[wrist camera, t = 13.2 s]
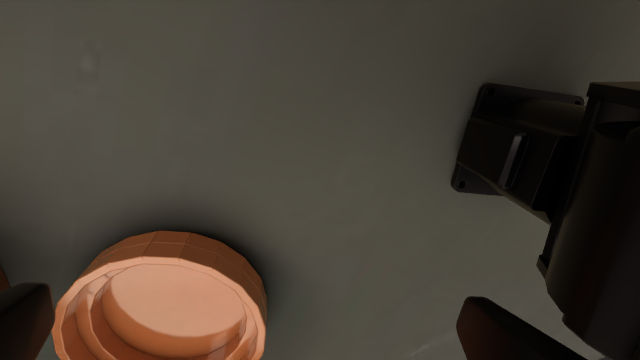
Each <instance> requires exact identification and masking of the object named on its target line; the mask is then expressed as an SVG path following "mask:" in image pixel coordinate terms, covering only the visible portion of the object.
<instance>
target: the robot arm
mask: <svg viewBox="0 0 640 360" xmlns="http://www.w3.org/2000/svg"><path fill="white" fill-rule="evenodd" d="M489 89H491V94H490V95H489V96H487V91H488V90H489ZM586 96H588V97H589V99H588V102H587V106H584V99H583V98H582V97H580V96H573V95H566V94H560V93H553V92H546V91H540V90H533V89H526V88H520V87H513V86H506V85H500V84H493V83H486V84H484V85H483V86H482V87H481V88H480V90H479V92H478V95H477V99H476V102H475V105H474V108H473V112H472V115H471V118H470V120H469V121H468V123H467V127H466V130H465V133H464V137H463V140H462V143H461V147H460V150H459V153H458V157H457V164H456V168H455V171H454V174H453V178H452V181H451V186H452V188H453V189H455V190H456V191H458V192H464V193H475V194H486V195H498V196H505V197H507V198H508V199H510V200H511V201H513V202H514V203H516V204H518V205H519V206H521V207H522V208H524V209H525V210H527V211H529V212H530V213H532V214H533V215H535V216H536V217H538V218H540V219H541V220H543V221H544V222H546V223H548V224H549V225H551V226H550V230H549V233H548V236H547V240H546V243H545V247H544V250H543V253H542V255H539V258H538V261H537V264H536V265H537V267H538V269H539V271H540V272H541V274H542V275H543V277H544V279H545V281H546V286H547V291H548V294H549V295H550V297H551V298H552V299H553V301H554V302H555V304H556V305H557V306H558V308H559V309H560V311H561V312H562V313H563V314H564V315H563V317H562V321H563V323H564V324H565V325H566V326H567V327H568V328H569V329H570V330H571V331H572V332H573V333H574V334H576V335H577V336H578V337H579V338H580V339H581V340H583V341H584V342H585V343H586V344H588V345H589V346H591V347H592V348H593V349H595V350H596V351H598V352H599V353H601V354H602V355H604V356H605V357H607V358H608V359H610V360H640V82H590V85H589V88H588V91H587V95H586ZM574 102H575V103H574ZM573 103H574V104H573ZM461 181H463V182H462V184H461V185H460V186H458V184H459V182H461ZM54 323H55V310H54V304H53V299H52V294H51V289H50V287H49V285H48V284H46V283H35V282H24V283H19V284H17V285H15V286H13V287H10V288H8V289H6V290H4V291H1V292H0V360H35V359H36V357H37V355H38V354H39V352H40V350H41V348H42V346H43V345H44V343H45V341H46V339H47V337H48V336H49V334H50V332H51V330H52V328H53V326H54ZM456 329H457V333H458V336H459V339H460V342H461V344H462V347H463V350H464V352H465V355H466V357H467V360H587V359H586V358H584V357H582V356H581V355H579V354H577V353H576V352H574V351H573V350H571V349H569V348H568V347H566V346H564V345H563V344H561V343H559V342H558V341H556V340H555V339H553V338H551V337H550V336H548V335H546V334H545V333H543V332H541V331H540V330H538V329H537V328H535V327H533V326H532V325H530V324H528V323H527V322H525V321H523V320H522V319H520V318H519V317H517V316H515V315H514V314H512V313H510V312H509V311H507V310H505V309H504V308H502V307H501V306H499V305H497V304H496V303H494V302H492V301H491V300H489V299H487V298H485V297H475V296H470V297H467V298H466V299H465V301H464V304H463V306H462V309H461V312H460V314H459V317H458V320H457V324H456Z"/></svg>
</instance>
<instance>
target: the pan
mask: <svg viewBox="0 0 640 360" xmlns="http://www.w3.org/2000/svg"><path fill="white" fill-rule="evenodd" d="M266 322H267V296H266V293H265V290H264V286H263V283H262V280H261V278H260V277H259V275H258V274H257V273H256V271H255V270H254V269H253V268H252V266H251V265H250V264H249V262H248V261H247V260H246V259H245V258H244V257H243V256H242V255H240V254H239V253H237V252H236V251H234V250H233V249H231V248H230V247H228V246H227V245H225V244H224V243H221V242H220V241H217V240H214V239H211V238H208V237H205V236H202V235H198V234H195V233H191V232H175V231H155V232H150V233H146V234H141V235H136V236H132V237H128V238H125V239H124V240H122V241H120V242H118V243H116V244H115V245H113V246H111V247H109V248H107V249H106V250H104V251H102V252H101V253H100V254H99V255H98V256H97V257H96V259H95V260H94V261H93V262H92V263H91V264H90V265H89V266H88V268H87V269H86V270H85V271H84V272H83V273H82V274H81V275H80V276H79V278H78V279H77V280H76V281H75V282H74V283H73V284H72V286H71V287H70V288H69V289H68V290H67V292H66V293H65V294H64V295H63V296H62V297H61V299H60V300H59V301H58V303H57V307H56V310H55V323H54V326H53V328H52V330H51V331H52V336H53V341H54V346H55V351H56V353H57V355H58V356H59V358H60V359H61V360H260V358H261V356H262V354H263V352H264V346H265V336H266Z"/></svg>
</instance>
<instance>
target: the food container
mask: <svg viewBox="0 0 640 360" xmlns="http://www.w3.org/2000/svg"><path fill="white" fill-rule="evenodd" d="M8 288H9V285H8V281H7V279H6V277H5V275H4V273H3V271H2V269H1V268H0V292H1V291H4V290H6V289H8Z"/></svg>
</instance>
